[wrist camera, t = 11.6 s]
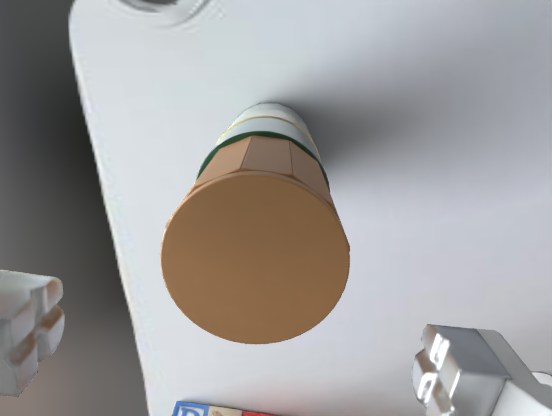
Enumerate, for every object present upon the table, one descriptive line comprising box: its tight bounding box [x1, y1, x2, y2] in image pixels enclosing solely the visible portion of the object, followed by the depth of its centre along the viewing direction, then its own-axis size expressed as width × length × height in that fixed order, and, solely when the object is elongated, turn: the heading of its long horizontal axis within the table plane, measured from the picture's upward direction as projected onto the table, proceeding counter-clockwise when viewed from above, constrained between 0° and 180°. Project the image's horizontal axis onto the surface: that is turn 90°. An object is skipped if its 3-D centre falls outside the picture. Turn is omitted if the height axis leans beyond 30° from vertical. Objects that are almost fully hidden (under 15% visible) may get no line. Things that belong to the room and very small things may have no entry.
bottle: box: [195, 103, 330, 192], centre depth 21 cm, size 6×6×17 cm
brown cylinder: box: [160, 135, 350, 344], centre depth 15 cm, size 6×6×6 cm
